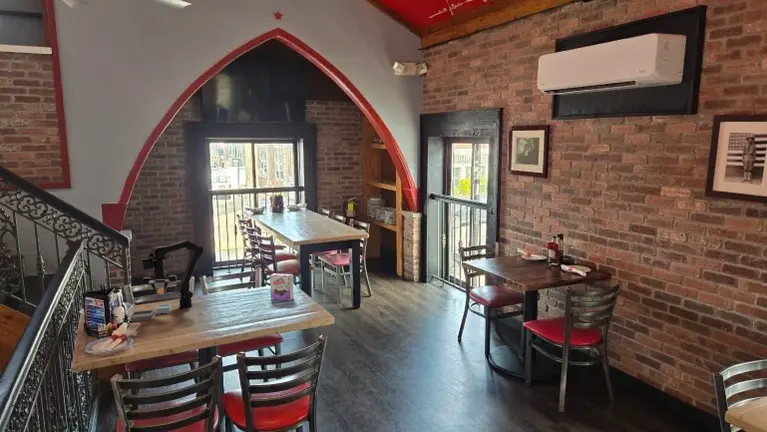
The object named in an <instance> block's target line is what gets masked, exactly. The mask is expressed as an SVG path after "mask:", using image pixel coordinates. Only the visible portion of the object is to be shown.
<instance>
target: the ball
mask: <svg viewBox="0 0 767 432" xmlns="http://www.w3.org/2000/svg"><path fill="white" fill-rule="evenodd" d="M157 294H158V295H159V296H160V295H163V294H165V293H164V286H159V287H158V288H157Z"/></svg>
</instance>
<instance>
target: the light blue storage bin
mask: <svg viewBox="0 0 767 432" xmlns="http://www.w3.org/2000/svg"><path fill="white" fill-rule="evenodd" d="M170 311H172V304H171V303H170V304H159V305H157V307H156V315H162V314H161V313H167V314H171V312H170Z"/></svg>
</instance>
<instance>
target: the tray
mask: <svg viewBox="0 0 767 432" xmlns="http://www.w3.org/2000/svg"><path fill="white" fill-rule="evenodd" d="M154 314H155V315H156V309H148V310H146V309H145V310H138V311H132V313H131V314H130V316H129V317H130V318H131V321H133V322H142V321H150V320H153V318H154V317H153V316H155V315H154Z"/></svg>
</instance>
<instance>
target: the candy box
mask: <svg viewBox="0 0 767 432" xmlns="http://www.w3.org/2000/svg"><path fill="white" fill-rule="evenodd" d="M269 282H270V283H269V285H270V286H269V287H270V300H271V301H285V302H286V301H287V302H291V301H293V300H295V297H294V275H293V273H275V272H274V273H272V274H269Z"/></svg>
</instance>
